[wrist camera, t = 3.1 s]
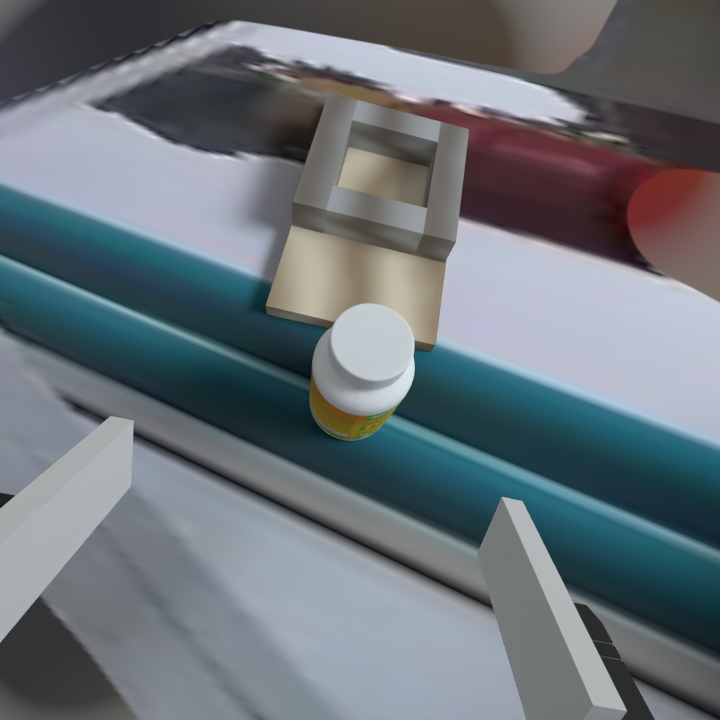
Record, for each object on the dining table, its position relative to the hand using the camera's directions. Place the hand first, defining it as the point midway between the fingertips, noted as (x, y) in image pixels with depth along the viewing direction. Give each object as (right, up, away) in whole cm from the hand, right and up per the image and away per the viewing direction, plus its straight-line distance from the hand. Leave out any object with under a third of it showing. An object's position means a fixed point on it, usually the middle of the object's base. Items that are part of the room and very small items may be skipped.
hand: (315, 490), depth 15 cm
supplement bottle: (+1, +2, +13) cm, 14 cm away
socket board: (+3, +16, +20) cm, 26 cm away
